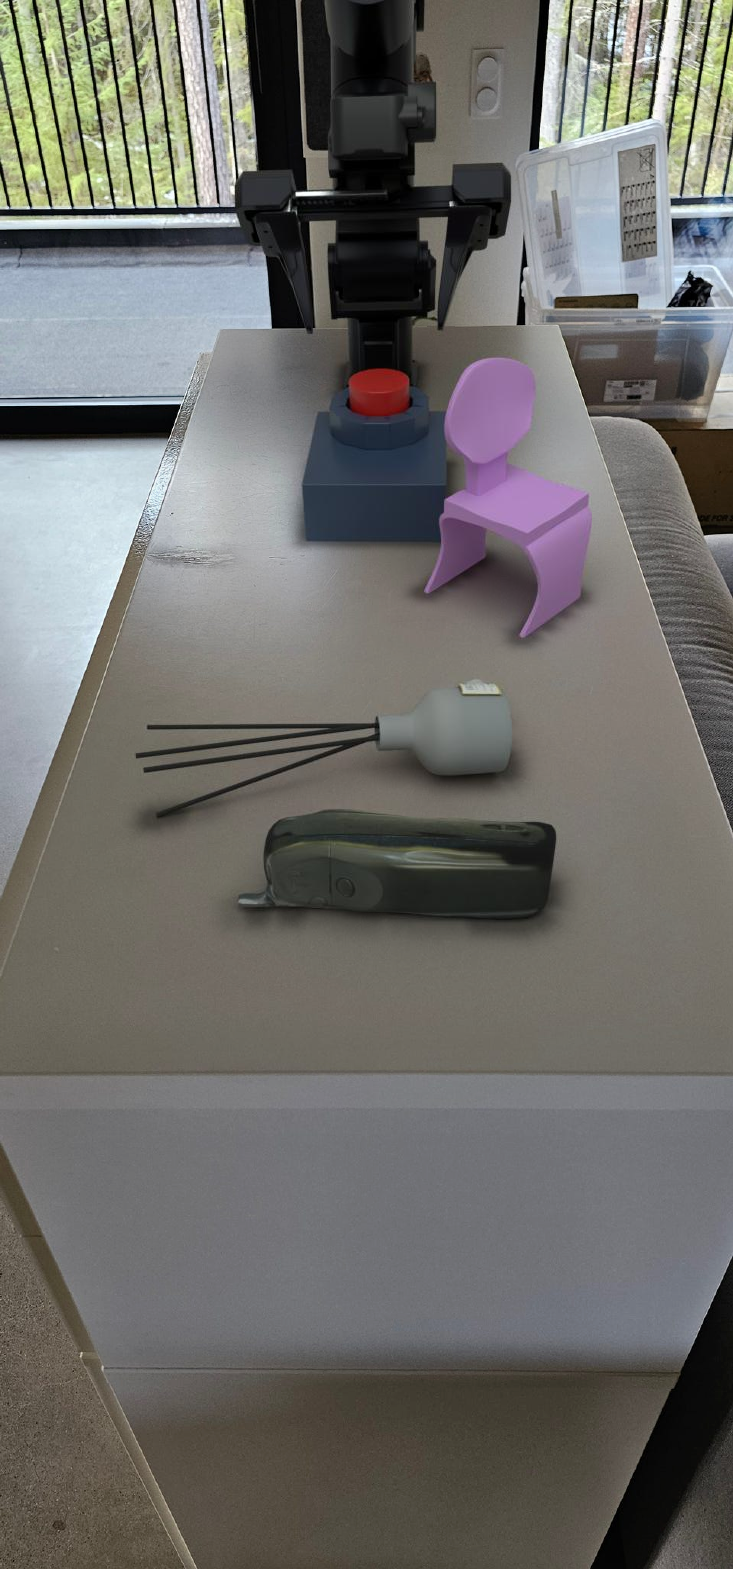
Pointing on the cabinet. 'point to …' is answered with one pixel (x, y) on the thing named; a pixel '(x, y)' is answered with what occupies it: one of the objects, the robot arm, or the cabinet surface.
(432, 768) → the reed diffuser
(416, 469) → the switch box
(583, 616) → the cabinet surface
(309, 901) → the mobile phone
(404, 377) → the button
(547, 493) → the toy chair
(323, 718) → the cabinet surface
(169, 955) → the cabinet surface
